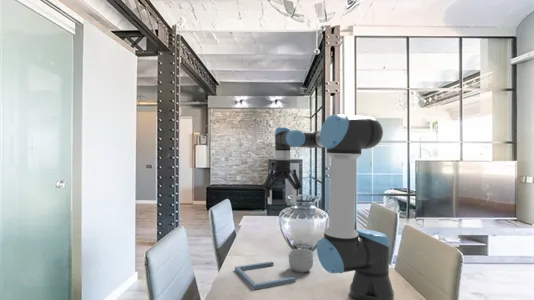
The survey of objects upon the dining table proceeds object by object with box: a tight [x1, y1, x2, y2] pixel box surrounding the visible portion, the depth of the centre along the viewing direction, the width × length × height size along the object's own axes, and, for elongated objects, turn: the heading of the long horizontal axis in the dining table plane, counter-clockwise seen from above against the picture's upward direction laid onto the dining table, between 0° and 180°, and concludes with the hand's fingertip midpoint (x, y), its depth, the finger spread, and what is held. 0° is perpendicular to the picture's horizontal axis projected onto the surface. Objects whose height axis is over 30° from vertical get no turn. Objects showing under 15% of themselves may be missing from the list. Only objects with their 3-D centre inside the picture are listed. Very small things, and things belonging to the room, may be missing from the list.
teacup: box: [287, 247, 314, 273], centre depth 141 cm, size 14×11×8 cm
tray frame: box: [234, 260, 296, 291], centre depth 132 cm, size 22×18×2 cm
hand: (282, 203), depth 154 cm, fingers open, 13 cm apart
